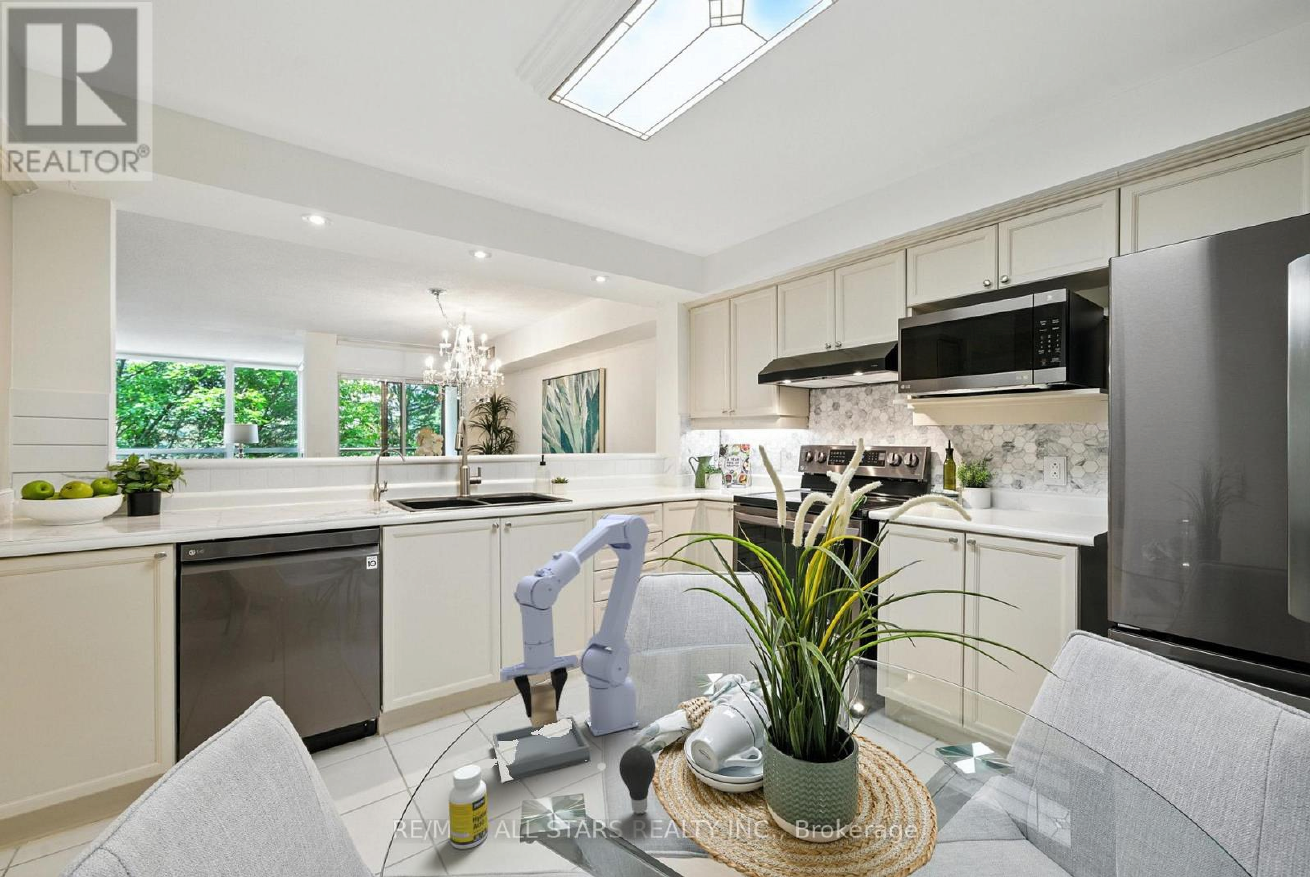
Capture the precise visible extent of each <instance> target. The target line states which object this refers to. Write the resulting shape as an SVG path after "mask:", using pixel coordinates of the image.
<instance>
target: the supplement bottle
mask: <svg viewBox="0 0 1310 877" xmlns="http://www.w3.org/2000/svg"><path fill="white" fill-rule="evenodd" d="M452 777H453V778H452V779H453V786H452V787H451V789H450V790H449V793H448V807H449V808H448V809H449V816H448V818H449V838H450V844H451V845H452V847H454V848H456V849H459V850H460V849H461V850H466V849H471V848H474V847H476V846H478V845H480V844H481V843H483V842H484V841H485V839H487V837H488V834H489V833H488V832H489V821H488V820H489V818H488V797H487V796H488V794H487V793H488V791H487V785H486V783H485V782H484V780H482V769H481V767H480V766H479V765H478V764H477V765H476V764H469V765H464V766H462V767H460V768H458V769H456V770H455V771H454V772H453V776H452Z"/></svg>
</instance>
